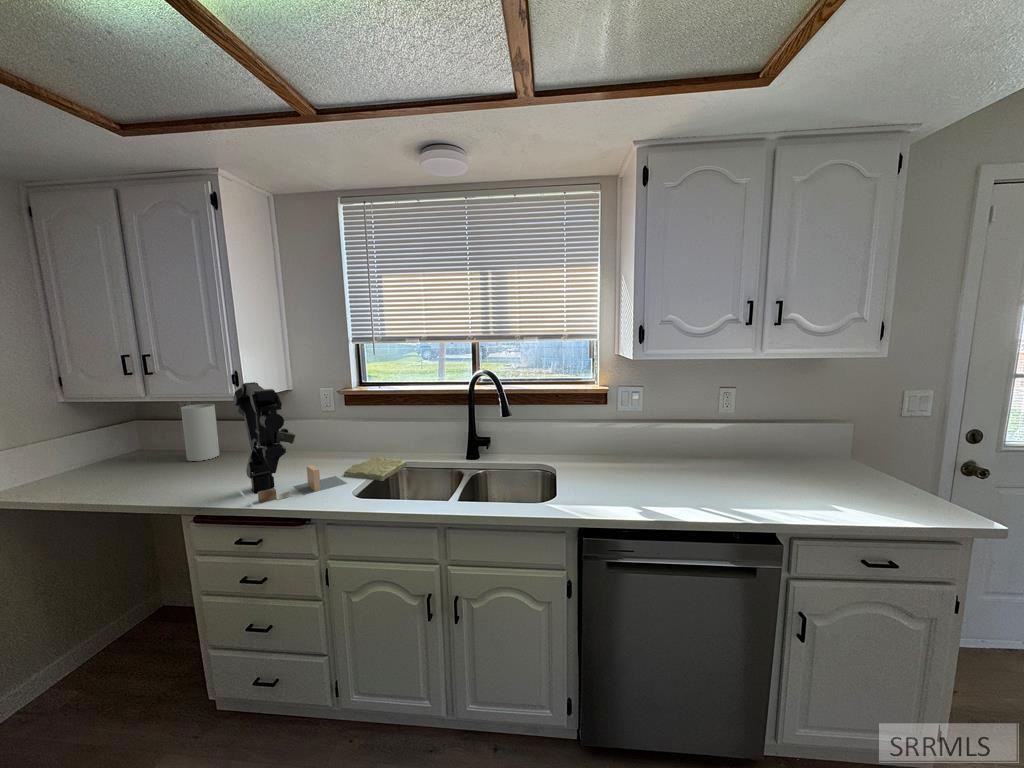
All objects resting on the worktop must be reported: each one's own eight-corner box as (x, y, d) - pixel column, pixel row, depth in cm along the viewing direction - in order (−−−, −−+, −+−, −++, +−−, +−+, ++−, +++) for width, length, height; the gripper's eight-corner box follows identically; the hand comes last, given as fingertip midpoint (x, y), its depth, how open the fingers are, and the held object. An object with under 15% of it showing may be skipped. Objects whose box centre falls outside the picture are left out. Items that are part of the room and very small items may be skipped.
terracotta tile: (314, 491, 152) (313, 470, 151) (308, 486, 157) (306, 466, 156) (320, 489, 153) (319, 469, 152) (314, 485, 158) (312, 464, 157)
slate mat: (303, 496, 149) (303, 494, 149) (293, 487, 157) (292, 486, 157) (347, 484, 160) (347, 483, 160) (335, 477, 168) (335, 475, 168)
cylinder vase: (204, 453, 203) (198, 403, 200) (226, 454, 201) (221, 404, 198) (179, 461, 191) (173, 408, 188) (203, 462, 189) (197, 408, 186)
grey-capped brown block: (261, 505, 141) (260, 494, 140) (257, 501, 144) (256, 490, 144) (293, 497, 148) (292, 486, 147) (289, 493, 151) (288, 483, 151)
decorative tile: (407, 466, 183) (407, 458, 182) (382, 482, 163) (382, 473, 163) (370, 463, 187) (369, 455, 187) (341, 478, 168) (341, 470, 167)
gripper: (300, 426, 141) (303, 470, 143) (283, 418, 154) (287, 458, 156) (263, 432, 133) (267, 478, 135) (249, 423, 146) (253, 465, 148)
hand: (270, 469), depth 144 cm, fingers open, 9 cm apart
